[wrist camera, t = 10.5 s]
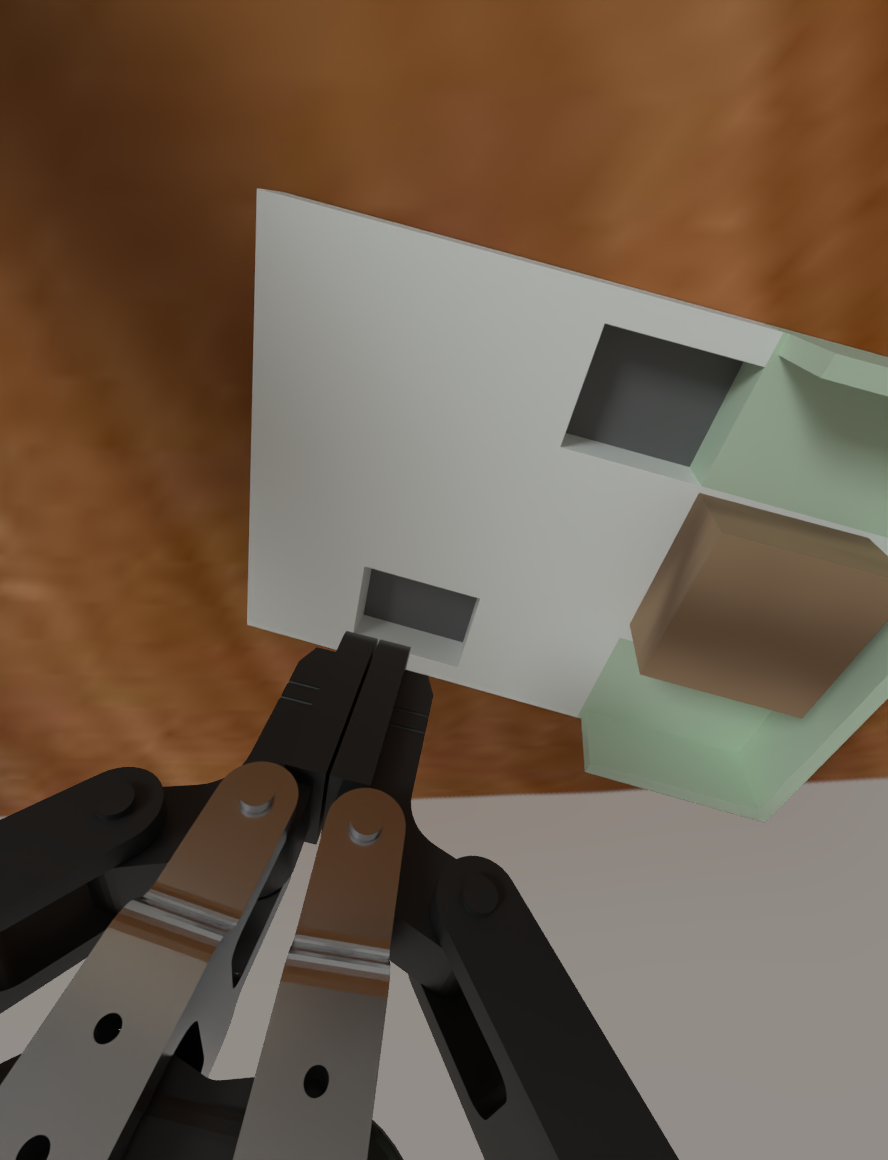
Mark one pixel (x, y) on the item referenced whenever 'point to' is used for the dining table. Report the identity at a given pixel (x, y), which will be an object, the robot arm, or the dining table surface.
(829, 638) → the block
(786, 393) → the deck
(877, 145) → the dining table surface
